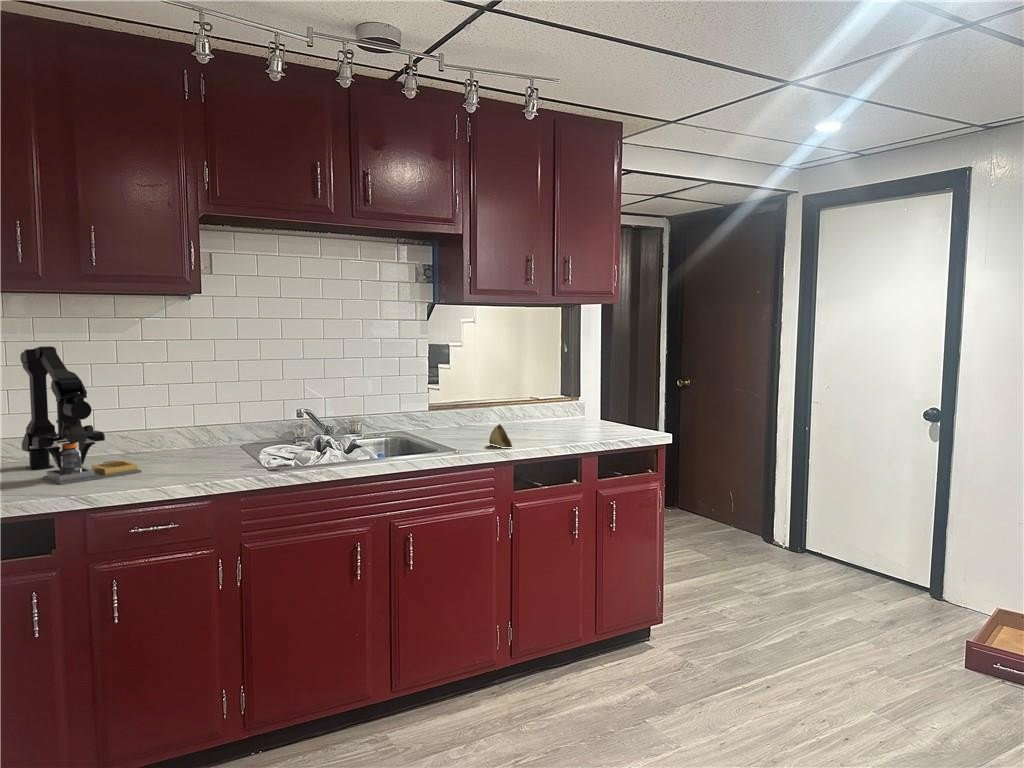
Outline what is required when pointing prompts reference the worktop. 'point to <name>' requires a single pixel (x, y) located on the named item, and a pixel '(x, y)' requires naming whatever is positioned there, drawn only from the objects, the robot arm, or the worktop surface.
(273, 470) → the worktop surface
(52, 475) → the faceplate
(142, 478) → the worktop surface
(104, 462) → the grey puck
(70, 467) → the pill bottle
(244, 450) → the worktop surface
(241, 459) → the worktop surface
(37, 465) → the robot arm
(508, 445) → the rock
